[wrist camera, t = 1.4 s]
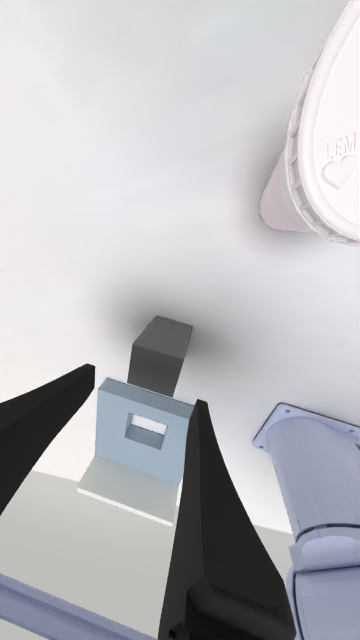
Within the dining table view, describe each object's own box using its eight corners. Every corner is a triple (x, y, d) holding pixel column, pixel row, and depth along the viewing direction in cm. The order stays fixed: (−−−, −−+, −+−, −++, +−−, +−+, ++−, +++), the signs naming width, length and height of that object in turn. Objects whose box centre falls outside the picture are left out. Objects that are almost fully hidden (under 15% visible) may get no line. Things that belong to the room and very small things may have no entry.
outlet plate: (207, 410, 22) (205, 463, 17) (179, 473, 29) (171, 526, 23) (107, 378, 23) (74, 418, 17) (101, 446, 29) (76, 491, 24)
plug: (192, 326, 18) (183, 359, 12) (182, 357, 20) (171, 399, 14) (156, 315, 18) (132, 343, 13) (150, 347, 20) (126, 384, 14)
